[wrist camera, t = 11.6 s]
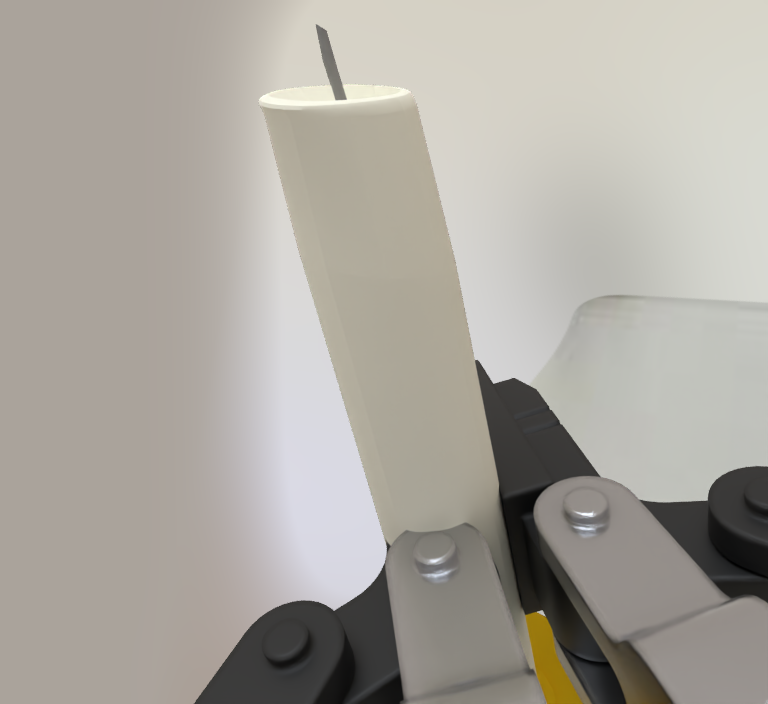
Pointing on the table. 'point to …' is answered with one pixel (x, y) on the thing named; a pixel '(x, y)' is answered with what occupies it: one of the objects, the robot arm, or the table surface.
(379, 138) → the candle
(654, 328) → the table surface
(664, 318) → the table surface
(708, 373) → the table surface
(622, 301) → the table surface
